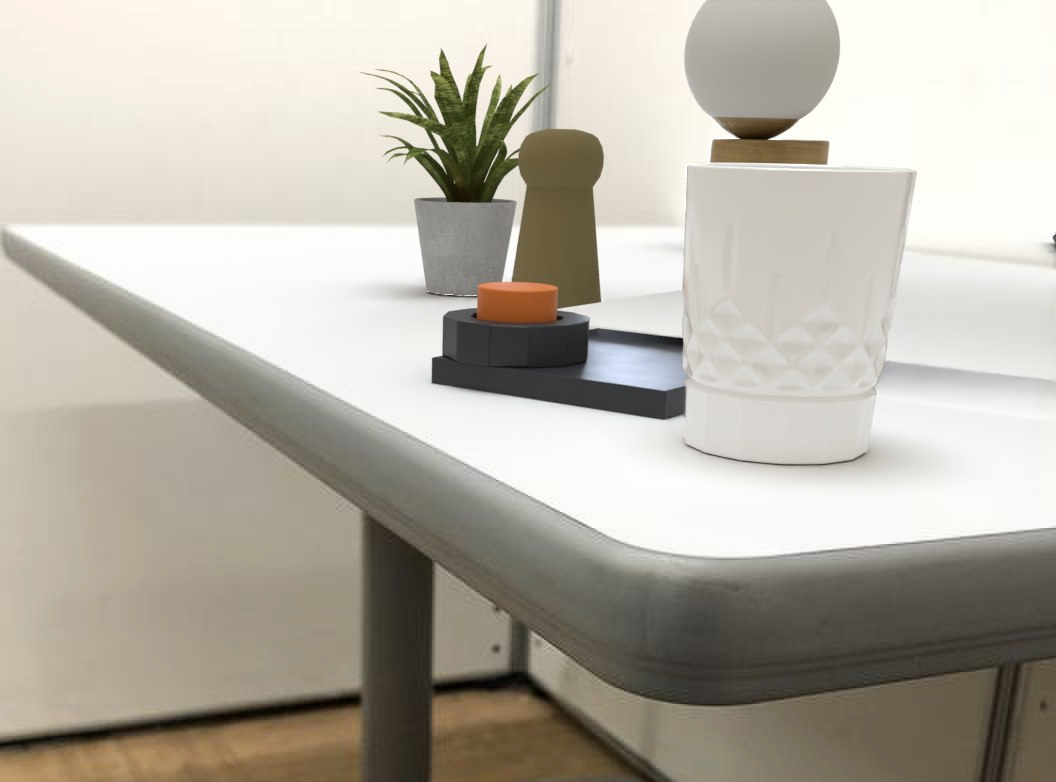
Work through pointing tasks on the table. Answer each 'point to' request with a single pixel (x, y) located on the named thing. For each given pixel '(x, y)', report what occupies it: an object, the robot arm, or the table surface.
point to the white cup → (788, 305)
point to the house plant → (463, 180)
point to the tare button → (517, 302)
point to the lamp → (762, 75)
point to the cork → (560, 214)
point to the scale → (563, 363)
